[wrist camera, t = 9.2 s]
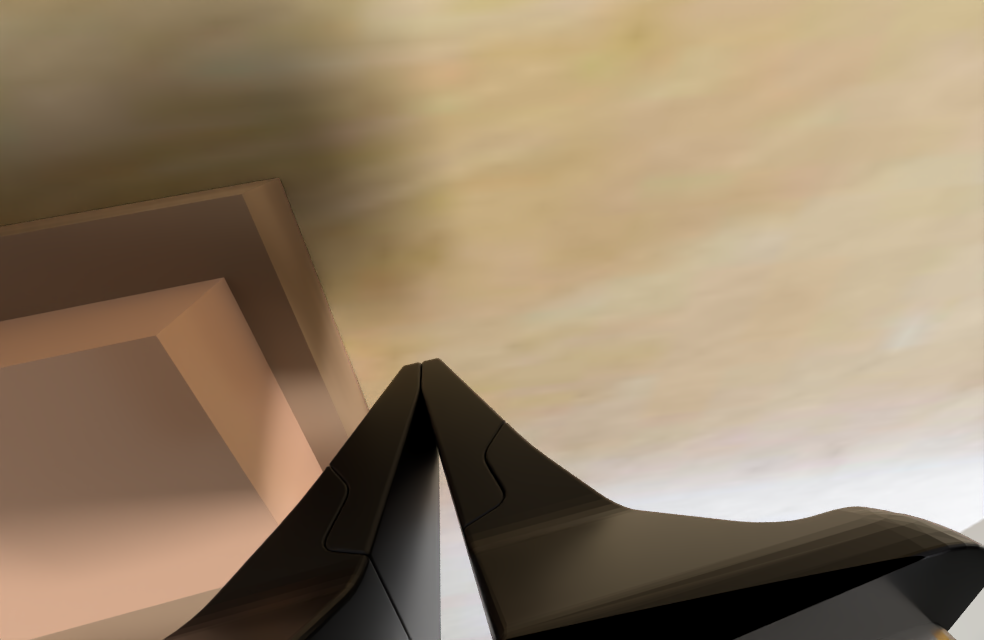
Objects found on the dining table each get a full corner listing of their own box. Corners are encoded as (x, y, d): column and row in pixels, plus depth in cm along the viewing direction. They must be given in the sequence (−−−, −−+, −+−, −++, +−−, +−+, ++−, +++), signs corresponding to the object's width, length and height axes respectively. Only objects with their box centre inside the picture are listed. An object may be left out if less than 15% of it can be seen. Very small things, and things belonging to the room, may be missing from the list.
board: (425, 557, 17) (428, 620, 15) (135, 637, 16) (92, 719, 14) (279, 177, 10) (242, 194, 7) (-291, 277, 8) (-534, 332, 6)
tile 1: (324, 475, 11) (304, 564, 9) (93, 533, 10) (9, 645, 8) (224, 277, 8) (155, 335, 6) (-103, 341, 8) (-313, 433, 5)
